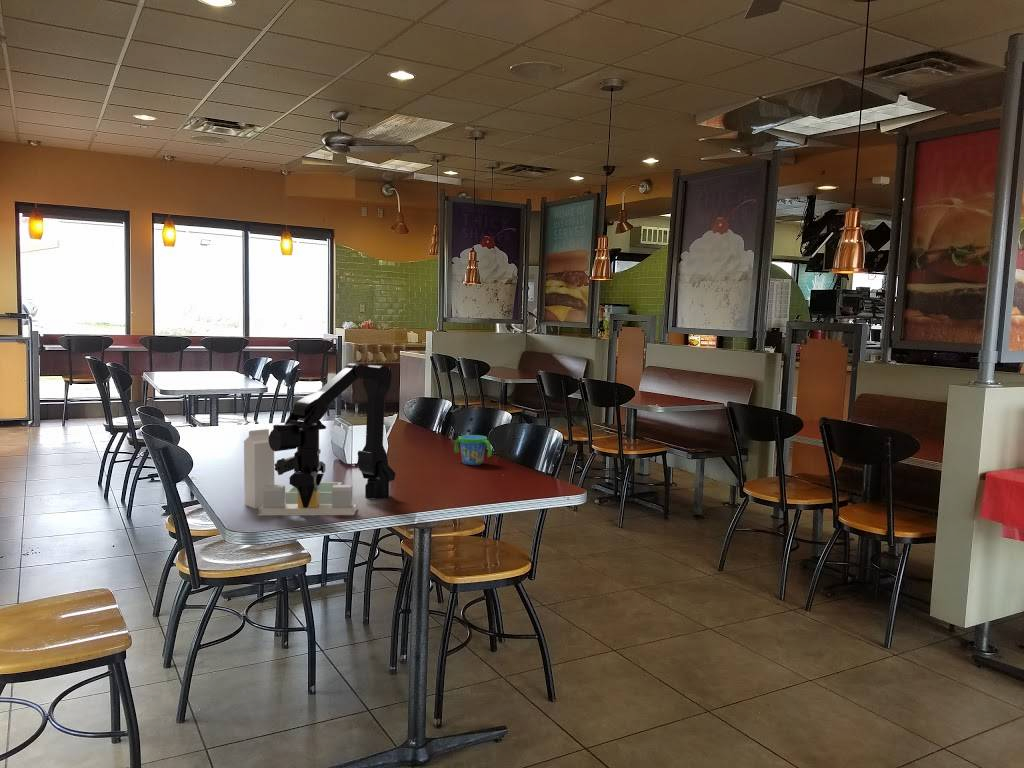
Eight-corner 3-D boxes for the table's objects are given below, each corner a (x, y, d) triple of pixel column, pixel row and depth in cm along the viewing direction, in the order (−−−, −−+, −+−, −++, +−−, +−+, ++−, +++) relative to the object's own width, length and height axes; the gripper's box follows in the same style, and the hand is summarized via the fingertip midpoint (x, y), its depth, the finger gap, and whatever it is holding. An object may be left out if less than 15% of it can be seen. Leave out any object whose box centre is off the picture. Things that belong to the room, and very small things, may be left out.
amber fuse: (318, 510, 206) (318, 484, 205) (316, 513, 203) (316, 487, 202) (300, 510, 205) (299, 484, 205) (297, 513, 202) (297, 487, 202)
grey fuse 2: (352, 510, 206) (352, 484, 206) (350, 513, 203) (350, 487, 203) (333, 510, 206) (333, 484, 206) (331, 513, 203) (331, 487, 203)
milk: (274, 508, 211) (274, 430, 209) (254, 512, 207) (254, 432, 205) (264, 504, 215) (263, 427, 214) (243, 507, 211) (243, 429, 209)
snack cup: (497, 464, 282) (498, 437, 281) (479, 468, 274) (480, 440, 273) (466, 459, 292) (466, 433, 291) (447, 463, 283) (447, 436, 282)
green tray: (341, 497, 226) (341, 482, 225) (334, 508, 212) (334, 492, 212) (295, 497, 225) (295, 482, 224) (285, 508, 211) (285, 492, 211)
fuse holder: (357, 512, 209) (357, 503, 208) (353, 518, 202) (353, 509, 201) (264, 512, 207) (263, 503, 206) (257, 518, 200) (257, 509, 200)
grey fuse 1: (285, 510, 205) (284, 484, 205) (282, 513, 202) (282, 487, 202) (266, 510, 205) (266, 484, 204) (263, 513, 202) (263, 487, 201)
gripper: (285, 441, 211) (285, 496, 213) (268, 452, 193) (269, 513, 194) (325, 441, 212) (325, 496, 213) (313, 453, 194) (313, 513, 195)
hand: (308, 504), depth 204 cm, fingers open, 7 cm apart
